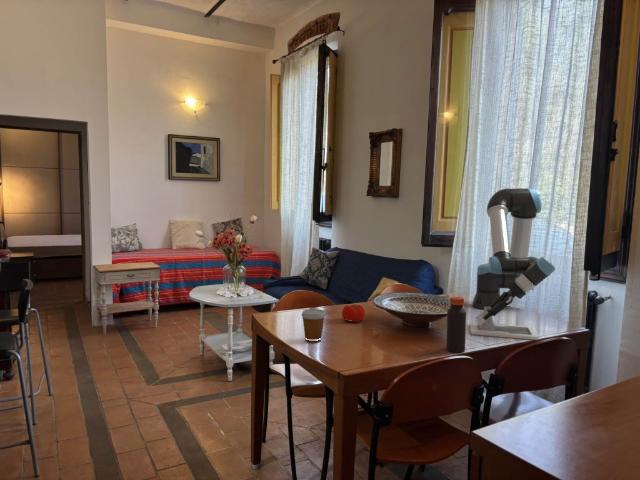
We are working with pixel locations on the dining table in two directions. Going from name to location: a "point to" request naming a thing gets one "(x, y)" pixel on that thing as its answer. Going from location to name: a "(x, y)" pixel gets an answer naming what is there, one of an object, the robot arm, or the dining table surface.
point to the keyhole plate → (506, 331)
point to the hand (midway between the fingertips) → (477, 321)
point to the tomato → (353, 313)
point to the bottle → (456, 326)
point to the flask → (487, 322)
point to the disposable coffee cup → (313, 324)
